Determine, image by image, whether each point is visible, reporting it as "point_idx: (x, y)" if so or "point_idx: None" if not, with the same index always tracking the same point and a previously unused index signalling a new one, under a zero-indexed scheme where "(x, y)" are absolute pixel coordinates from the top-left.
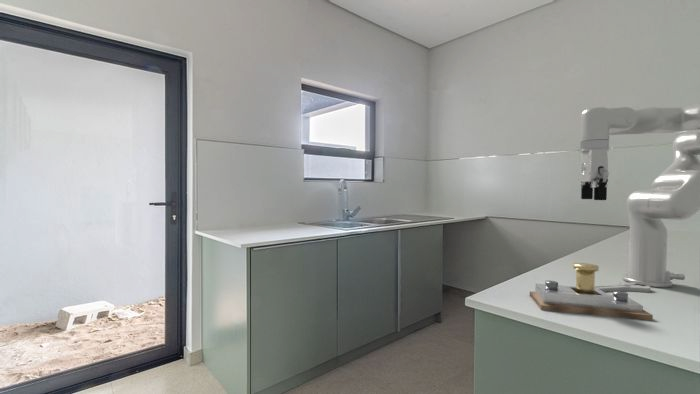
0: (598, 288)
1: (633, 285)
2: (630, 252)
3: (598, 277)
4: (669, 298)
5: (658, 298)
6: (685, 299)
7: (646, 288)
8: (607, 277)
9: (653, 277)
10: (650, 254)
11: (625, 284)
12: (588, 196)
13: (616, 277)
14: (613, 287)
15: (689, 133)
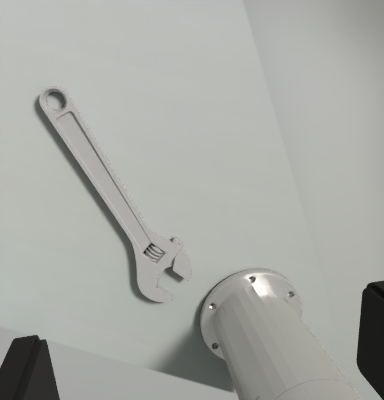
0: (82, 165)
1: (160, 268)
2: (284, 333)
3: (269, 212)
4: (95, 313)
5: (83, 290)
6: (103, 342)
7: (139, 288)
8: (277, 236)
9: (217, 332)
10: (237, 374)
11: (164, 251)
12: (374, 353)
13: (285, 260)
14: (113, 210)
15: None
